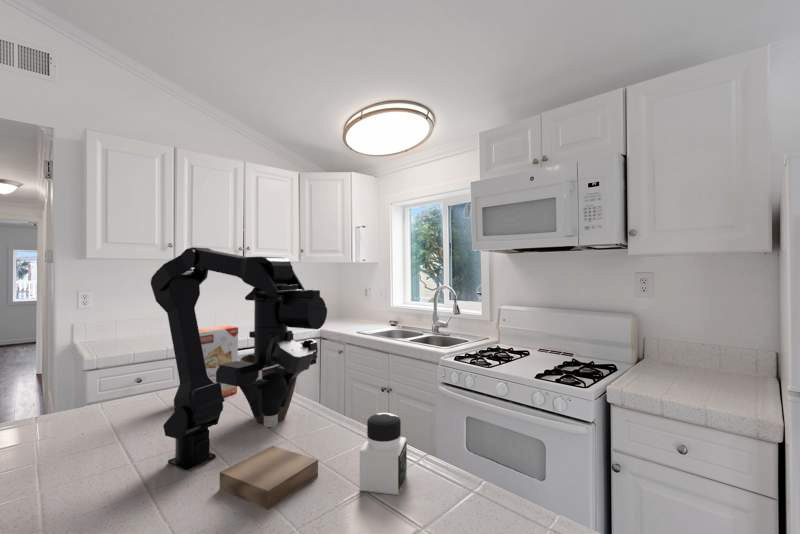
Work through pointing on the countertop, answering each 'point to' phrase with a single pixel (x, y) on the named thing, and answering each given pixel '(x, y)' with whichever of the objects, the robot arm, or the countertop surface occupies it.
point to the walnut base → (268, 476)
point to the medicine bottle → (383, 455)
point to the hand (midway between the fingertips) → (270, 411)
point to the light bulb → (273, 397)
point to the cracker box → (219, 351)
